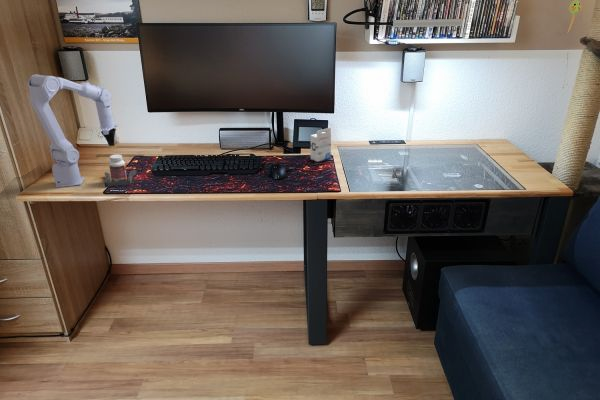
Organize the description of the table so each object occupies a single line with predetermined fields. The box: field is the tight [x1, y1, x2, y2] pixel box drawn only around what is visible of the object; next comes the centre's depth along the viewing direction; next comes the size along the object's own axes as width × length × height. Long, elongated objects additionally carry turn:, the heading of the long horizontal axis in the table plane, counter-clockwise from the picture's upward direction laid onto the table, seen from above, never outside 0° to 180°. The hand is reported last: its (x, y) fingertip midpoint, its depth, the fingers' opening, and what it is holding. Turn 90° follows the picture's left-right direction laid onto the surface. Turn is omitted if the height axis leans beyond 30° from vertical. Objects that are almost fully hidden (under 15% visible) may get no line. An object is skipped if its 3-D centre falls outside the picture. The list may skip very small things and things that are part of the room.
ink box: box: [310, 127, 332, 163], centre depth 203 cm, size 9×5×15 cm, turn 126°
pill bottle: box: [108, 154, 128, 181], centre depth 182 cm, size 6×6×11 cm
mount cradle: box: [103, 169, 138, 188], centre depth 185 cm, size 13×12×2 cm
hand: (111, 145), depth 198 cm, fingers closed
